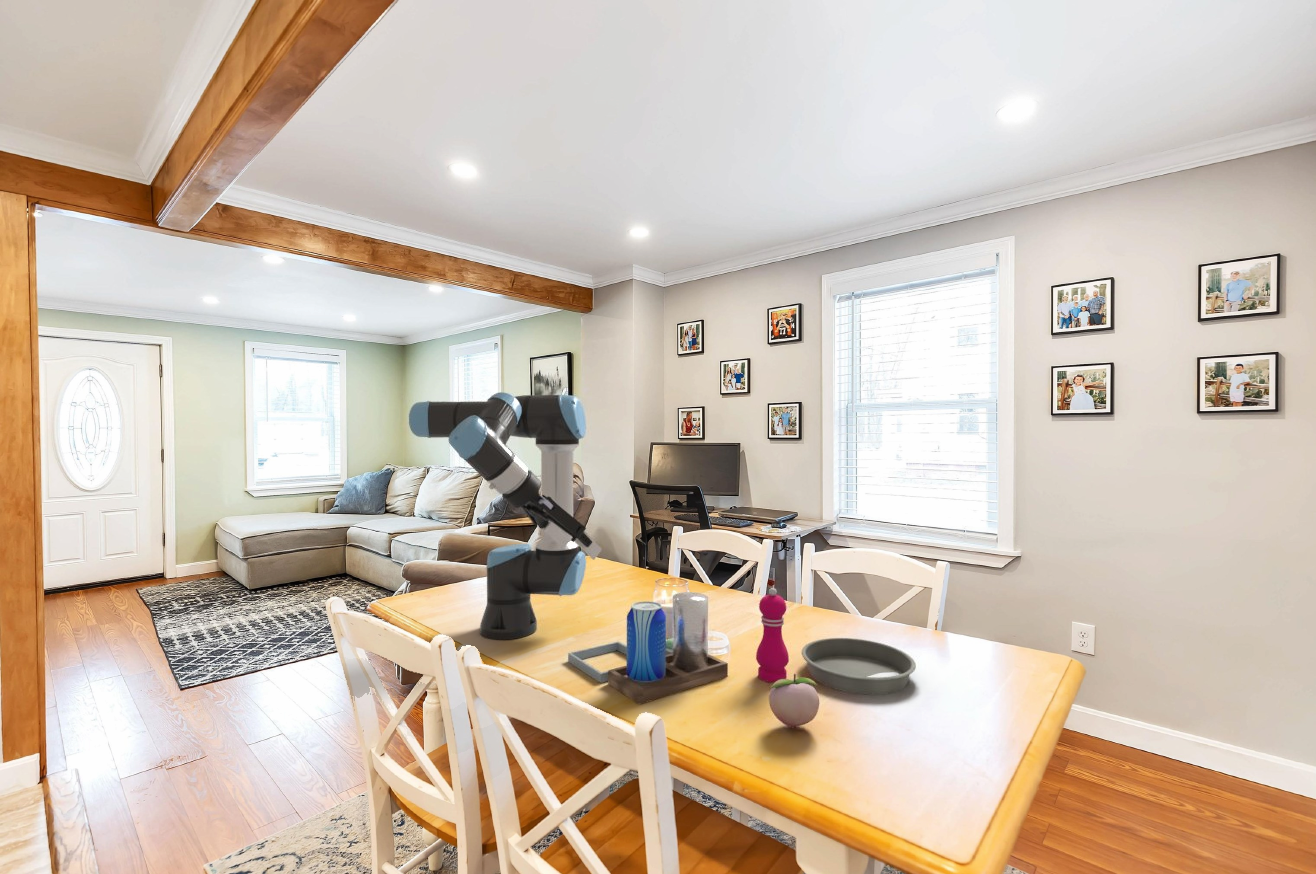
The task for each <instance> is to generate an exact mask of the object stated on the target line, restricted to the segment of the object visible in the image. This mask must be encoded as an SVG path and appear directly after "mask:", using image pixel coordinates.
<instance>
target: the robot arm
mask: <svg viewBox="0 0 1316 874" xmlns="http://www.w3.org/2000/svg"><path fill="white" fill-rule="evenodd" d="M586 421H587V420H586V414H585V410H584V405H583V403H582V402H581V400H580V399H579V398H578V397H577V396H575V395H570V394H569V395H568V394H545V395H544V394H535V395H532V394H531V395H530V394H529V395H528V394H527V395H524V394H523V395H516V396H513V394H511V393H509V392H501V391H500V392H496V393H495V394H492V395H491V396H490V397H488V399H487V401H482V400H481V401H429V400H427V401H419V402H416V403H414V404H413V405H412V406H411V408H410V410H409V413H408V425H409V429H410V431H411V432H412V434H413V435H414V436H416V437H418V438H427V439H433V438H435V439H436V438H437V439H438V438H448V444H449V445H450V446H451V447H452V448H453V450H454V451H455V452H456V453H457V454H458V456H459V457H460V458H461V459H463V460H464V461H465V462H466V463H467V464H469V466H471V468H473V470H474V471H476V472H477V473H478V474H479V475H480V476H481V477H482V478H483V479H484V480H485V481H486V482H487V483H489V485H488V488H489V490H493V489H494V490H495V491H496V492H497V493H498V494H499V495H501V496H502V498H503V499H504V500H505V501H506V502H507V503H508V504H509V505H510V506H511V507H512V508H514V509H518V508H521V510H522V511H523V512H524V514H525V515H526V516H527V517H528V519H529V520H530V521H531V523H532V524H533V526H536V527H537V526H538V528H539V529H541V531H540V532H541V534H540V536H541V539H540V540H539V542H538V543H537V544H535V550H532V547H531V545H530V544H529V543H517V544H510V545H505V546H499V547H496V548H494V549H492V550H490V551H489V553H488V554H487V559H486V560H487V561H486V606H485V608H484V609H485V610H484V613H483V615H482V619H481V622H480V625H479V629H480V630H479V631H480V632H479V633H480V635H481V636H482V637H484V638H487V639H492V640H512V639H519V638H523V637H527V636H530V635H533V634H534V633H535V632H536V631H537V629H538V628H537V627H538V623H537V622H538V621H537V617H536V614H535V611H534V608H533V606H532V601H531V595H545V596H546V595H547V596H549V595H550V596H559V597H562V596H575V595H576V594H577V593H578V592H579V590H580V588H581V587H582V584H583V581H584V579H585V578H584V577H585V572H586V564H587V558H586V557H587V556H589V558H590V559H592V560H593V561H595V560H596V558H597V557H598V555H600V553H601V552H602V550H603V548H602V547H600V545H598V543H597V542H596V541H595V540H594V539H593V538H592V537H591V536H590V535H589V534H588V533H587V532H586V531H587V528H586V526H585V525H583V524H582V523H581V522H580V521H578V520H577V519H576V518H575V517H574V451H575V450H576V449H577V448H578V447H579V445H580V440H581V439H583V438H585V436H586V430H587V422H586ZM511 437H516V438H525V439H535V446H536V447H537V448H538V449H539V450H540V452H541V454H540V456H541V457H540V461H541V462H540V463H541V465H540V467H541V469H540V471H541V473H540V475H541V478H540V479H541V480H540V479H539V478H538V476H536V475H535V474H534V473H533V471H532V470H528V468H529V467H528V466H527V465H526V464H525V463H524V462H523V461H522V460H521V459H520V458H519V457H518V456H517V455H516V454H515V453H514V452H513V451H512V449H510V447H508V446H507V442H508V441H509V440H510V438H511ZM540 488H541V491H540ZM540 493H541V494H540ZM580 549H582V551H581V550H580ZM583 551H584V552H583ZM586 554H587V556H586Z"/></svg>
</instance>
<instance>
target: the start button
mask: <svg viewBox="0 0 1316 874" xmlns="http://www.w3.org/2000/svg"><path fill="white" fill-rule="evenodd" d="M666 647H667V648H669V649H671V650H673V637H670V638H668V639H666Z"/></svg>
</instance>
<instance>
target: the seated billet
mask: <svg viewBox="0 0 1316 874" xmlns="http://www.w3.org/2000/svg"><path fill="white" fill-rule="evenodd" d="M672 638H673V656H672V666H674V667H676V668H678V669H680V670H682V671H684V672H686V673H688V672H692V671H695V670H699V669H702V668H705V667H708V654H709V596H708V595H707V594H704V593H701V592H700V593H699V592H692V591H691V592H689V591H688V592H687V591H686V592H680V593H679V592H678V593H675V594H673V595H672Z"/></svg>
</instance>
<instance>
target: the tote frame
mask: <svg viewBox="0 0 1316 874" xmlns="http://www.w3.org/2000/svg"><path fill="white" fill-rule="evenodd" d="M616 650H617V651H616ZM607 652H609V653H612V652H621V653H622V654H623V653H624V655H625V654H626V656H627V644H626V643H625V644H624V643H623V642H621V641H619V640H618V641H615V642H614V641H613V642H610V643H609V642H608V643H606V644H601V645H596V646H593V647H589V648H585V649H580V650H576V651H572V652H571V651H570V652H568V653H567V662H568V663H570V664H571V665H572V666H575V668H578V669H579V670H580V671H582V672H583V673H584V674H586V675H588V676H589V677H590V678H593V680H595V681H597V682H598V683H600V684H603V683H606V682H608V670H606V671H600V670H598V669H597V668H595V667H594V666H593V665H590V663H588V662H586V661H584V659H587V658H592V657H596V655H597V656H601V655H605V654H608V653H607ZM604 653H605V654H604Z"/></svg>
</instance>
